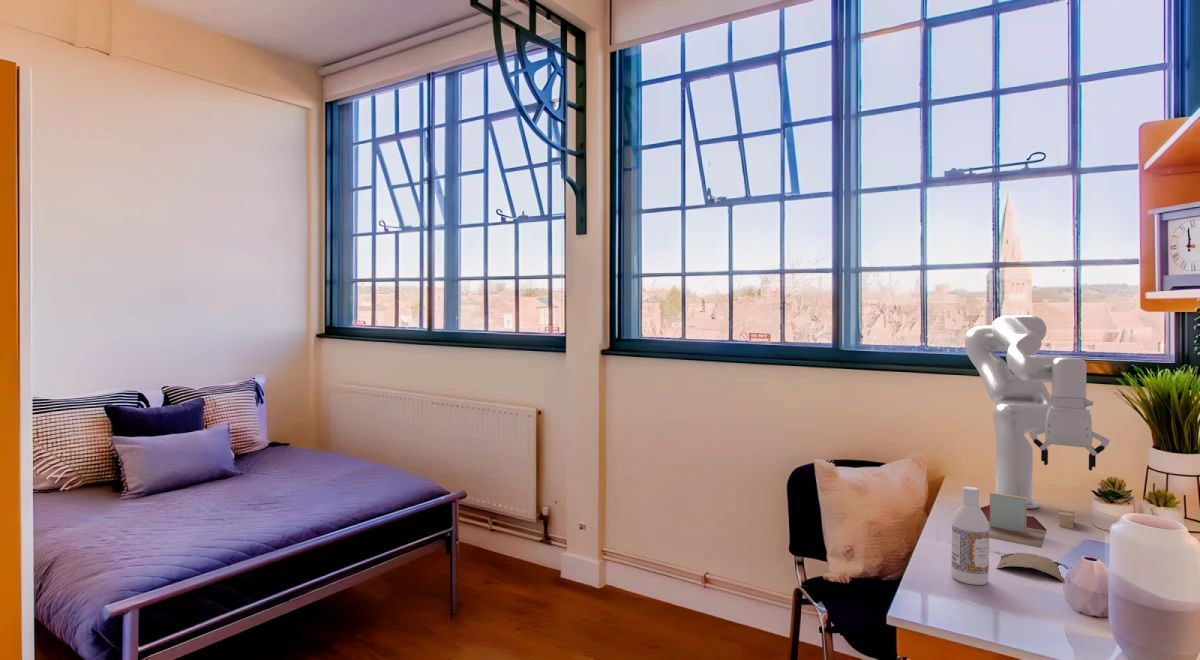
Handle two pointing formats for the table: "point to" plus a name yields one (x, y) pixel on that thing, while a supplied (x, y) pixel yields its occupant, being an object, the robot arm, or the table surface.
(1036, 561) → the clay tablet
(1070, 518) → the tan block
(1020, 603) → the table surface
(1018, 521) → the peach flat slab
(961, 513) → the bath foam
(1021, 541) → the walnut board
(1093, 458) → the robot arm
